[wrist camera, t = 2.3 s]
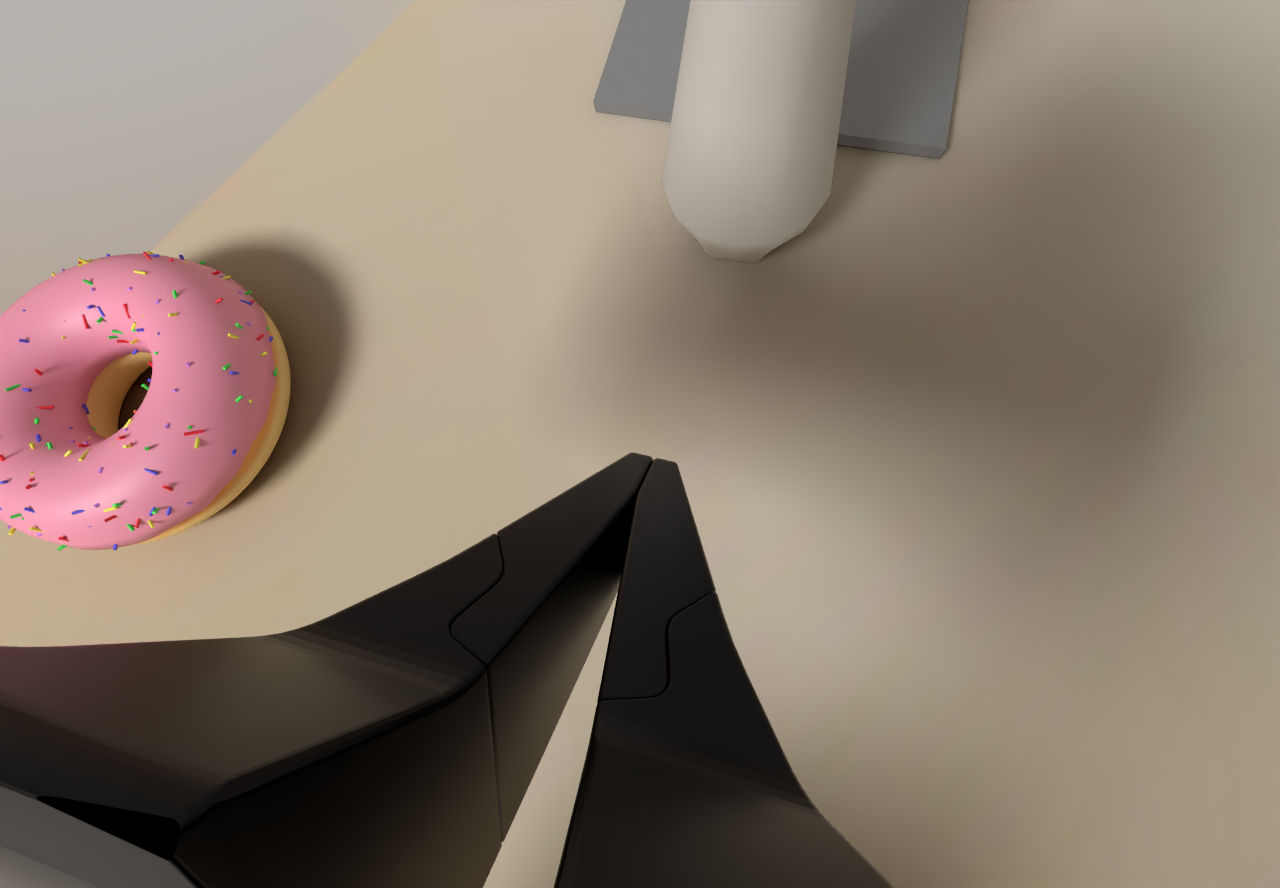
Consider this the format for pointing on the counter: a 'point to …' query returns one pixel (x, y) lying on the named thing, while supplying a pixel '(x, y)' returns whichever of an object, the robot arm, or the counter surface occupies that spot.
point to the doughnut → (166, 420)
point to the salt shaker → (756, 121)
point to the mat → (875, 78)
